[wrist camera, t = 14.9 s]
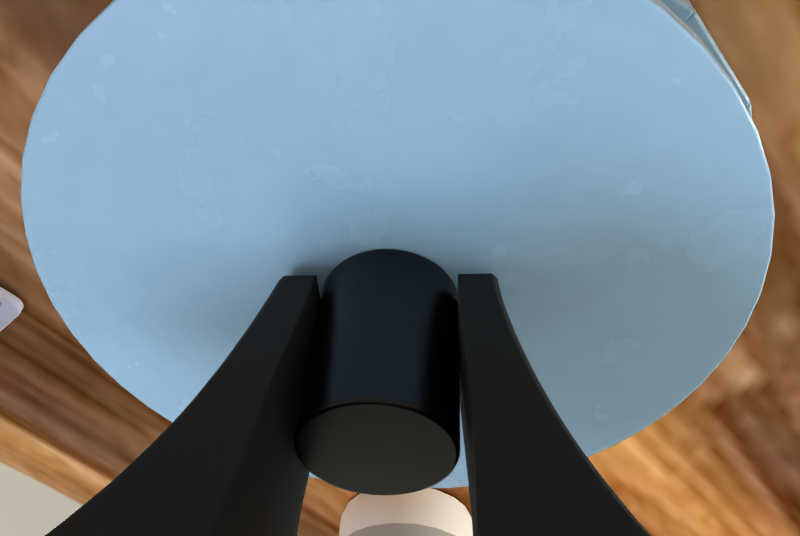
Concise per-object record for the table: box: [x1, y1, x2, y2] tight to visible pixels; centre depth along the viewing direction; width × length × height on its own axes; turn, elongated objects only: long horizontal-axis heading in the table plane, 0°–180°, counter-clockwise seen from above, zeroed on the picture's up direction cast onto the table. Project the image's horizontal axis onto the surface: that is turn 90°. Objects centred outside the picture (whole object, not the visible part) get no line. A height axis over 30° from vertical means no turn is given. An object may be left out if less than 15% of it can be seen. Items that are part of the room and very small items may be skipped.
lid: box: [21, 0, 775, 496], centre depth 13 cm, size 14×14×4 cm
